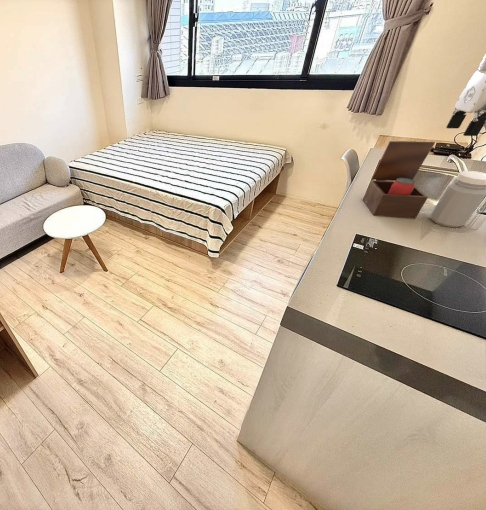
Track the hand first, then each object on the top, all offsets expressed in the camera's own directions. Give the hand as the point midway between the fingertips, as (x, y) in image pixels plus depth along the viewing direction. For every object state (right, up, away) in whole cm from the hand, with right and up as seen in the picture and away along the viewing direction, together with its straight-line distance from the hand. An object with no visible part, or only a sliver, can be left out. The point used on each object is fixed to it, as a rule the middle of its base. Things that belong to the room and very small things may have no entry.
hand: (460, 131), depth 86 cm
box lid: (+2, -2, +22) cm, 22 cm away
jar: (+14, -26, +17) cm, 34 cm away
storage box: (+1, -19, +27) cm, 34 cm away
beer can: (0, -20, +25) cm, 32 cm away
